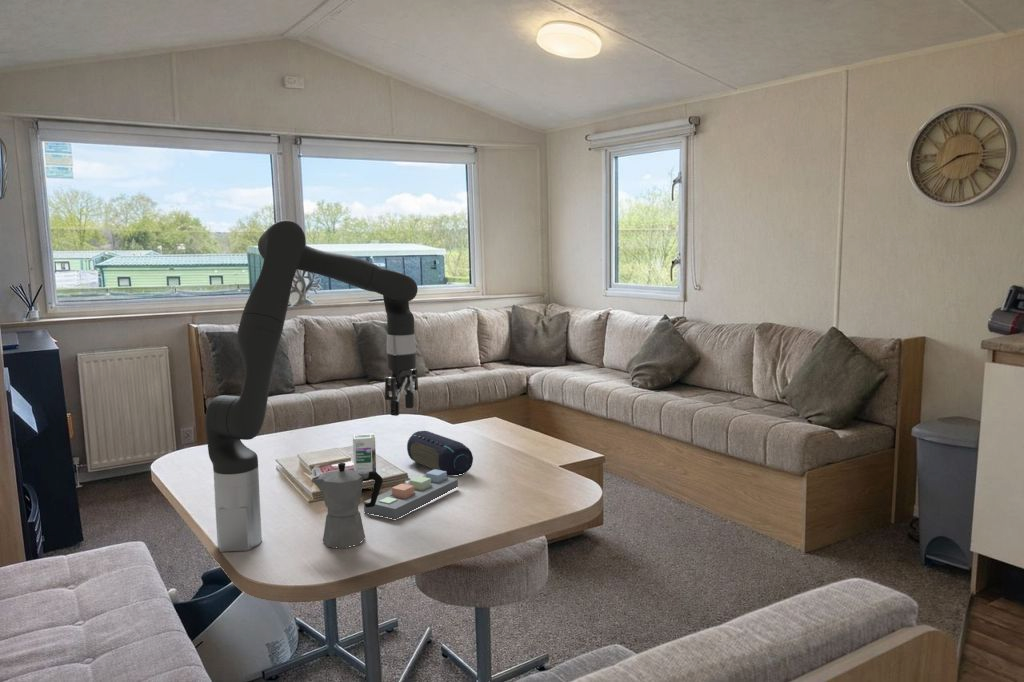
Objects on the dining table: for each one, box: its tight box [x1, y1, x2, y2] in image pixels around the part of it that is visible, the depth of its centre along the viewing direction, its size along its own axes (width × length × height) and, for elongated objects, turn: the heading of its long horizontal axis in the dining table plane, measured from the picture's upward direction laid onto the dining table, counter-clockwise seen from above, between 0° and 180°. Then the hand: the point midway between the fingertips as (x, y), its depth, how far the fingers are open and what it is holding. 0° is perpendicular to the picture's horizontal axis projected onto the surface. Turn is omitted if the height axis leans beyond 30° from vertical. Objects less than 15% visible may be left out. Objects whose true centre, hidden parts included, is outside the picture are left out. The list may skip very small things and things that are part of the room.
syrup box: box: [352, 432, 377, 481], centre depth 196 cm, size 6×6×14 cm
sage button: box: [408, 475, 431, 491], centre depth 188 cm, size 4×4×4 cm
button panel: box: [363, 474, 459, 519], centre depth 186 cm, size 26×10×3 cm, turn 149°
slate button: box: [425, 469, 448, 483], centre depth 194 cm, size 4×4×4 cm
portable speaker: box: [406, 430, 474, 476], centre depth 213 cm, size 25×10×10 cm, turn 40°
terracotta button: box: [391, 483, 414, 499], centre depth 182 cm, size 4×4×4 cm
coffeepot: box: [311, 462, 384, 549], centre depth 160 cm, size 15×9×18 cm, turn 101°
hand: (402, 411), depth 190 cm, fingers open, 8 cm apart
